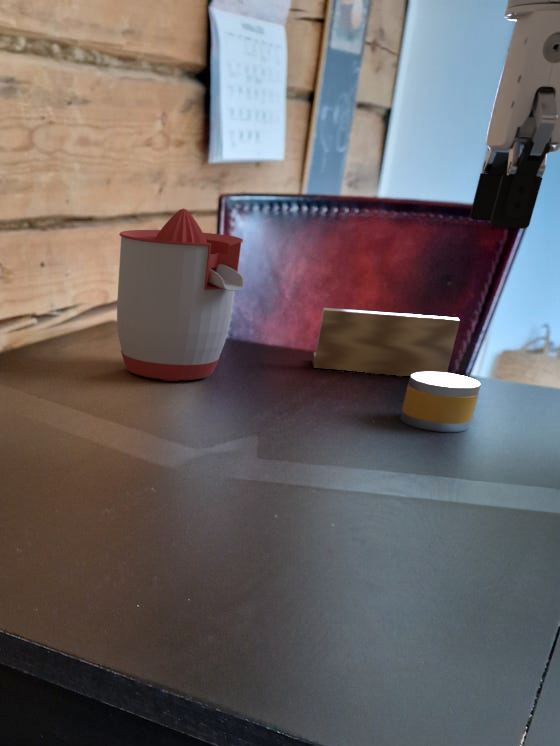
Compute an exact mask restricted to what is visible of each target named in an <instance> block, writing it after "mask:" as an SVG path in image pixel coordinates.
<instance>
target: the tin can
mask: <svg viewBox="0 0 560 746" xmlns="http://www.w3.org/2000/svg"><path fill="white" fill-rule="evenodd" d="M481 384H482V383H481V382H480V381H478V380H477V379H474V378H472V377H468V376H465V375H460V374H456V373H451V372H447V373H442V372H417V373H413V374H411V375H410V377H409V379H408V384H407V386H406V391H405V393H404V394H405V395H404V399H403V404H402V408H401V414H400V421H401V422H402V423H403V424H406V425H408V426H410V427H412V428H416V429H421V430H423V431H424V430H425V431H430V432H438V433H462V432H466V431H467V430H469V429H470V425H471V422H472V419H473V416H474V413H475V410H476V407H477V402H478V398H479V395H480V389H481Z"/></svg>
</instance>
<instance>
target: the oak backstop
mask: <svg viewBox="0 0 560 746" xmlns="http://www.w3.org/2000/svg"><path fill="white" fill-rule="evenodd" d="M460 322H461V320H460V319H459V317H452V316H441V315H440V316H438V315H428V314H427V315H426V314H425V315H424V314H413V313H398V312H385V311H373V310H362V309H361V310H360V309H359V310H358V309H346V308H334V307H323V308H322V314H321V319H320V323H319V331H318V336H317V342H316V347H315V351H314V352H313V353H312V359H313V361H312V367H313V366H314V367H313V369H314V368H325V369H337V370H347V371H357V372H365V373H364V374H367V373H371V374H370V375H379V374H385V375H384V376H390V375H396V376H395V377H402V376H410V375H411V374H413V373H417V372H442V373H448V370H449V366H450V362H451V358H452V353H453V350H454V346H455V341H456V337H457V334H458V329H459V325H460ZM373 373H374V374H373Z"/></svg>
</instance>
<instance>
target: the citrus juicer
mask: <svg viewBox="0 0 560 746" xmlns="http://www.w3.org/2000/svg"><path fill="white" fill-rule="evenodd" d="M118 235H119V236H120V249H119V250H120V251H119V268H118V281H117V283H118V285H117V300H116V322H117V323H116V324H117V334H118V340H119V346H120V349H121V350H120V353H121V357H122V359H123V363H124V366H125V368H126V370H127V371H129V372H130V373H132V374H135V375H139V376H142V377H146V378H152V379H160V380H162V381H163V380H164V381H163V382H165V381H177V382H179V381H191V380H199V379H204V378H207V377H209V376H211V375H212V373H213V372H214V370H215V368H216V366H217V364H218V362H219V360H220V356H221V353H222V351H223V348H224V346H225V344H226V341H227V340H226V339H227V337H228V333H229V330H230V326H231V321H232V315H233V309H234V299H235V292H236V291H237V292H238V291H241V290H242V289H243V288H244V278H243V275H242V274H240V273H239V272H238V271H239V263H240V257H241V256H240V255H241V248H242V247H241V246H242V244H243V243H244V240H243V238H241V237H237V236H233V235H228V234H220V233H212V232H203V230H202V228H201V227H200V225H199V223H198V222H197V221H196V219H195V218H194V216H193V214H191V213H190V211H189V210H188V209H186V208H181V209H179V210H178V211H176V212H175V213H174V214H173V215H172V216H171V217H170V218H169V219H168V220H167V221H166V222H165V224H164V225H163V226H162V228H161V229H132V230H131V229H130V230H123V231H120V232H119V234H118Z"/></svg>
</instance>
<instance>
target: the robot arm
mask: <svg viewBox="0 0 560 746" xmlns="http://www.w3.org/2000/svg"><path fill="white" fill-rule="evenodd" d="M503 18H504V19H505V20H507V21H512V22H515V24H514V27H513V31H512V35H511V39H510V42H509V46H508V47H507V53H506V57H505V60H504V64H503V66H502V71H501V74H500V78H499V82H498V85H497V90H496V94H495V97H494V101H493V106H492V110H491V114H490V118H489V123H488V127H487V131H486V138H485V145H486V146H487V147H488V149H487V154H486V156H485V159H484V162H483V165H482V169H481V172H480V173H479V178H478V181H477V186H476V191H475V194H474V198H473V201H472V205H471V209H470V213H469V218H470V219H471V220H474V221H489V224H490V226H492V227H493V228H506V229H507V228H509V229H521V230H522V229H523V230H524V229H527V228H529V226H530V223H531V222H532V221H531V220H532V217H533V213H534V210H535V206H536V203H537V199H538V195H539V191H540V189H541V185H542V182H543V175H544V173H545V171H546V167H547V156H548V154H551V153H552V154H553V153H556V152H557V151H559V150H560V0H507V4H506V9H505V12H504V16H503Z"/></svg>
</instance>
